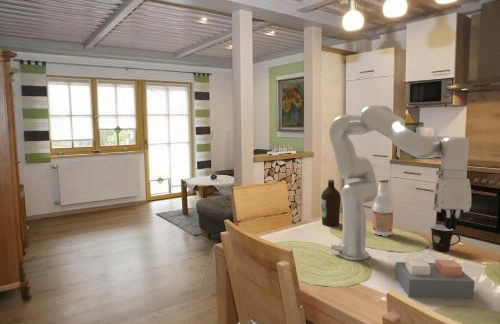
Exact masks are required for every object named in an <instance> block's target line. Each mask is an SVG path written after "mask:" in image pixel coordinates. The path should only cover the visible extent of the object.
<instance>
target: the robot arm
mask: <svg viewBox="0 0 500 324" xmlns="http://www.w3.org/2000/svg"><path fill="white" fill-rule="evenodd" d="M374 131H375V132H377V133H379V134H381V135H382V136H384V137H386V138H388V139H389V140H390V141H391V142H392V144H394V146H396V148H398V149H400V150H401V151H403V152H405V153H406V154H409V155H410V156H411V157H414V158H417V159H421V160H422V159H423V160H424V159H430V158H440V168H439V170H436V171H435V174H436V175H437V176H439V177H438V178H437V181H436V184H435V190H434V196H433V198H434V199H433V204H434V206H433V208H432V209H433V211H435V212H437V213H440V214H442V215H443V216H444V221H443V222H444V223H443V225H444V226H445V227H446V228H447V229H449V230H451V229H453V231H456V229H457V227H458V219H459V218H460V216H461V215H462V214H464V213H468V212H470V210H471V208H472V188H471V182H470V179H469V178H468V174H467V173H468V158H469V139H468V138H467V137H463V136H443V135H421V134H419V133H417V132H415V131H413V130H411V129H409V128H408V127H406V121H405V119H404V118H402V117H400V116H398V115H396V114H395V113H394V111H393V110H392V109H391V108H390V107H389V106H387V105H378V104H374V105H367V106H365V107H364V108H363V109H362V110H361V111H360V114H343V115H340V116H337V117H336V118H334V119H333V120H332V121H331V124H330V126H329V131H328V132H329V133H328V135H329V140H330V142H331V145H332V148H333V152H334V157H335V161H336V162H335V163H336V164H337V165H336V166H337V170H338V174H339V176H340V178H342V179H343V180H345V181H346V180H349V181H350V180H355V181H353V182H349V183H347V184H345V185H344V186H343V187H342V188H341V190H340V196H341V205H342V231H341V232H342V236H341V237H342V239H341V241H342V242H340V243H338V244H331V245H330V249H331V250H334V251H335V252H338V256H340V257H341V258H343V259H345V260H350V261H365V260H367V259H369V257H370V253H369V252H368V251H367V250H366V237H367V236H366V234H367V214H366V213H367V212H366V209H365V207H364V204H365V203H371V202H373V201H375V199H376V197H377V195H378V187H379V186H378V183H377V179H376V175H375V171H374V166H373V165H372V162H371V161H370V159H368V158H367V157H365V156H363V155H357V153H356V150H355V146H354V143H353V142H352V140H351V139H350V136H358V135H359V136H360V135H365V134H369V133H371V132H374Z"/></svg>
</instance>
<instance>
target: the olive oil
mask: <svg viewBox="0 0 500 324" xmlns="http://www.w3.org/2000/svg"><path fill="white" fill-rule="evenodd" d="M327 180H328V182H327V187H326V188H325V189H324V190H322V193H321V195H320V196H321V199H320V200H321V224H322V225H324V226H328V227H337V226H339V225H340V215H341V214H340V213H341V203H342V201H341V192H340V191H339V190H338V189H337V188H336V187H335V180H334V179H327Z"/></svg>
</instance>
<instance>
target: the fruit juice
mask: <svg viewBox="0 0 500 324" xmlns="http://www.w3.org/2000/svg"><path fill="white" fill-rule="evenodd" d="M389 184H390V179H388V178H378V186H377V187H378V195H377V197H376V199H375V200H374V203H373V207H372V208H373V211H372V233H373V235H375V234H377V235H376V236H378V235H382V236H381V237H389V236H388V235H391V236H392V235H393V226H394V225H393V224H394V223H393V222H394V205H393V201H394V194H393V192H392V191H391V189H390V188H391V187H390V185H389Z"/></svg>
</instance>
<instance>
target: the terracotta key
mask: <svg viewBox="0 0 500 324" xmlns="http://www.w3.org/2000/svg"><path fill="white" fill-rule="evenodd" d="M434 263H435V269H436V270H437V271H438V272H439V273H440V274H441V275H442V276H462V271H463V266H462V265H460V263H458V262H457V260H454V259H442V258H441V259H437V258H435V261H434Z"/></svg>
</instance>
